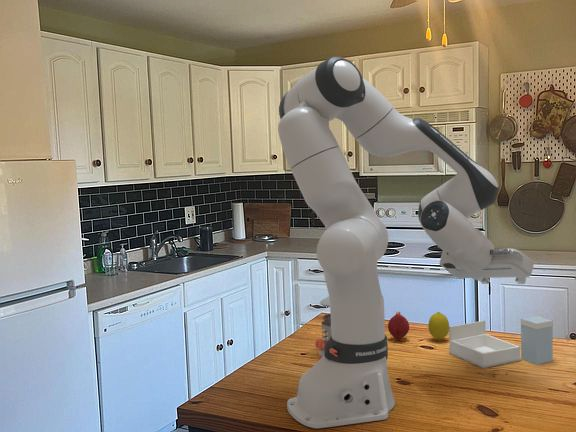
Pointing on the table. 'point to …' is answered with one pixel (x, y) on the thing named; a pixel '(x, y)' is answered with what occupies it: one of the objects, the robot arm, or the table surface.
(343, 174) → the robot arm
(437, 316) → the lemon
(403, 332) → the onion
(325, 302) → the french press
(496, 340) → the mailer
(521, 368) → the table surface
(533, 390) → the table surface
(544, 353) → the carton
